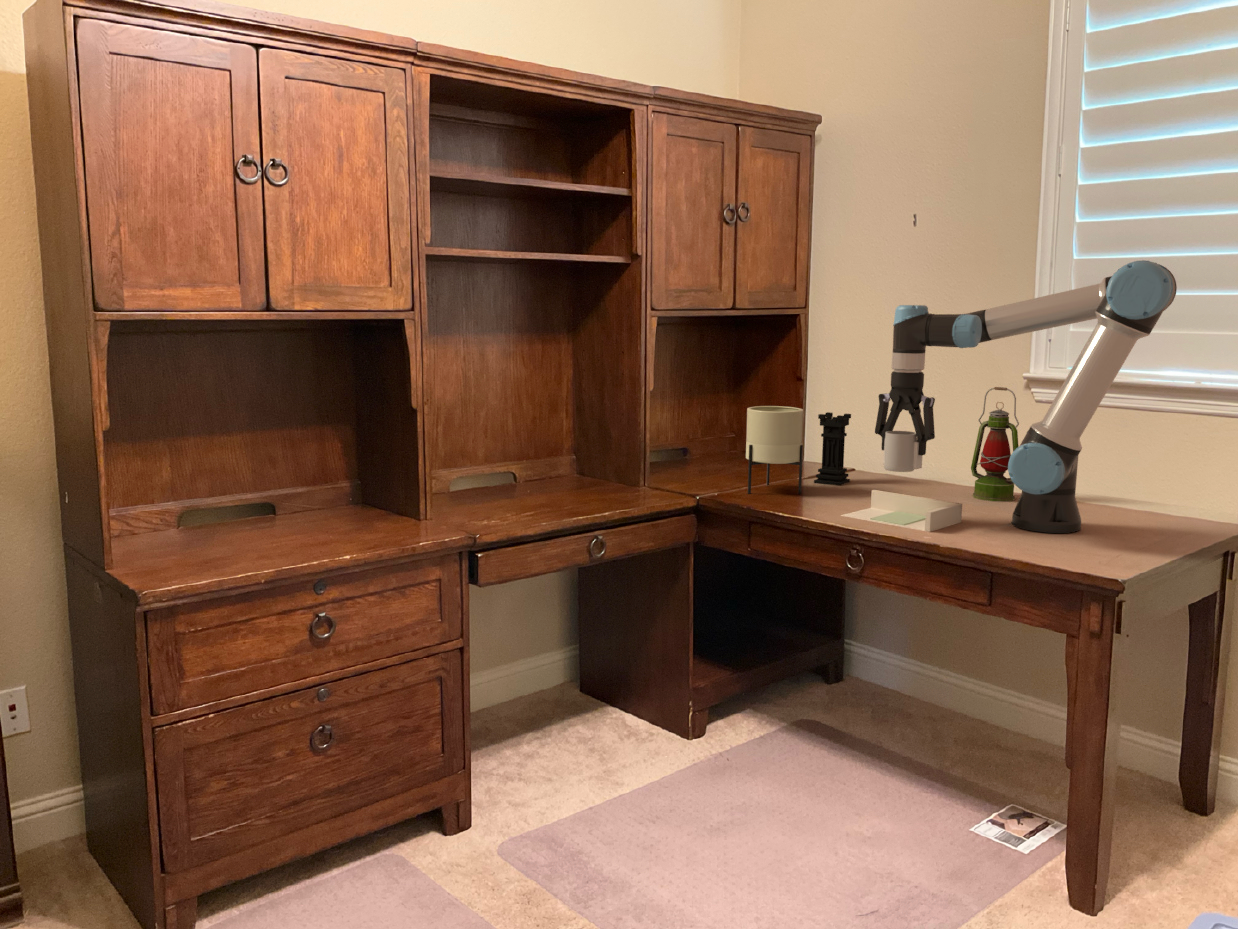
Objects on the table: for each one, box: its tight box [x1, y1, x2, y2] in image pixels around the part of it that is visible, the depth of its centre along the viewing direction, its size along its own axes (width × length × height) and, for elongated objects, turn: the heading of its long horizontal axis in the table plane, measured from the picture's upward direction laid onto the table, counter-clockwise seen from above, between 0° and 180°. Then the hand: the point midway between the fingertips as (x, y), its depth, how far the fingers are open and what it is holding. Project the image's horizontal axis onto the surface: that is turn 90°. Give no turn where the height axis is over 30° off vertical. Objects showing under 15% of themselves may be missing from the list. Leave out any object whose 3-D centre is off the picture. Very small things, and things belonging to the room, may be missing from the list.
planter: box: [745, 405, 804, 495], centre depth 282 cm, size 15×16×23 cm
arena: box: [840, 489, 963, 533], centre depth 247 cm, size 24×15×5 cm, turn 44°
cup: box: [883, 430, 918, 473], centre depth 244 cm, size 7×10×9 cm
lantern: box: [970, 386, 1020, 503], centre depth 275 cm, size 14×11×30 cm
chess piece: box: [813, 412, 852, 487], centre depth 297 cm, size 8×8×20 cm
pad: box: [870, 511, 926, 525], centre depth 247 cm, size 9×12×1 cm
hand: (902, 466), depth 245 cm, fingers closed on cup, 7 cm apart
